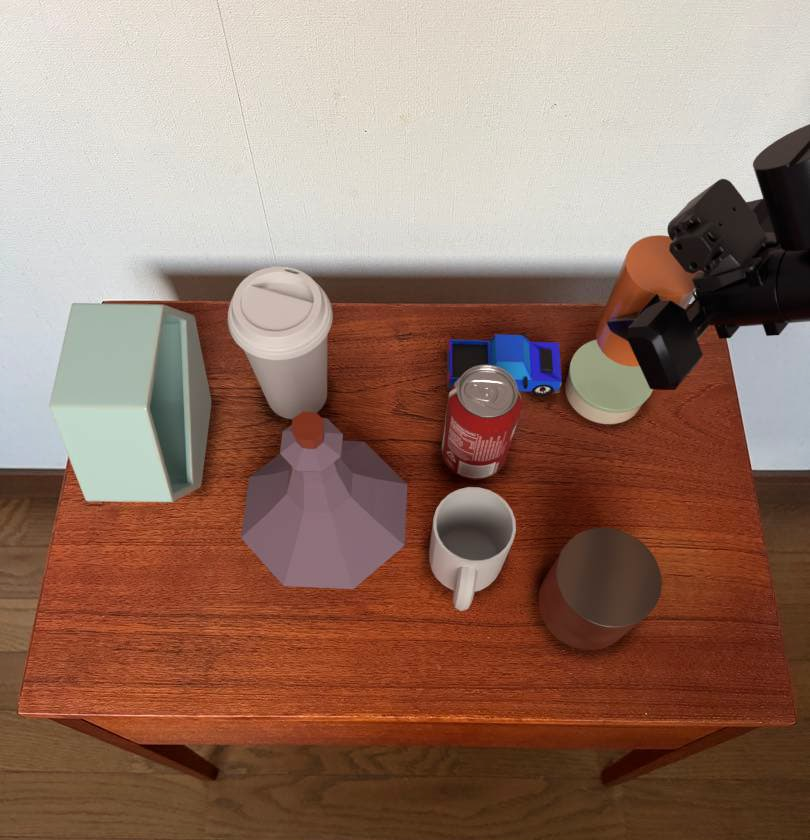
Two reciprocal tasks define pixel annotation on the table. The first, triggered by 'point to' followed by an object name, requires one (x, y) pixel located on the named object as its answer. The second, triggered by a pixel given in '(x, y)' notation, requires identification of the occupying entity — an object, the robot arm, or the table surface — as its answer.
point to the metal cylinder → (599, 588)
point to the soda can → (480, 421)
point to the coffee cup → (284, 337)
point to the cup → (470, 541)
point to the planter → (132, 402)
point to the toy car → (509, 361)
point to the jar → (604, 386)
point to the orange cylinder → (642, 291)
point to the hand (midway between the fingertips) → (630, 302)
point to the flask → (324, 508)
